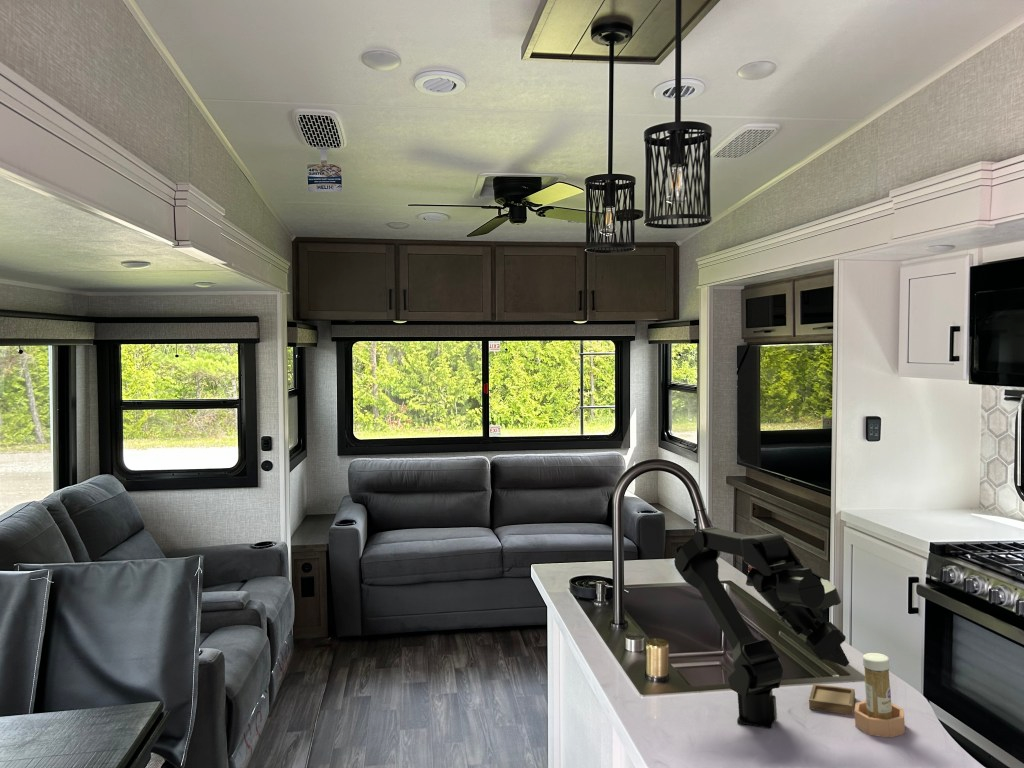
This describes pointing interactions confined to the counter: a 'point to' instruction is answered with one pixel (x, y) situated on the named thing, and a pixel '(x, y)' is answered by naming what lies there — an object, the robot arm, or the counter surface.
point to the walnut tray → (832, 699)
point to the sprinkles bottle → (877, 686)
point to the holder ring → (880, 721)
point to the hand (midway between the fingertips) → (835, 652)
